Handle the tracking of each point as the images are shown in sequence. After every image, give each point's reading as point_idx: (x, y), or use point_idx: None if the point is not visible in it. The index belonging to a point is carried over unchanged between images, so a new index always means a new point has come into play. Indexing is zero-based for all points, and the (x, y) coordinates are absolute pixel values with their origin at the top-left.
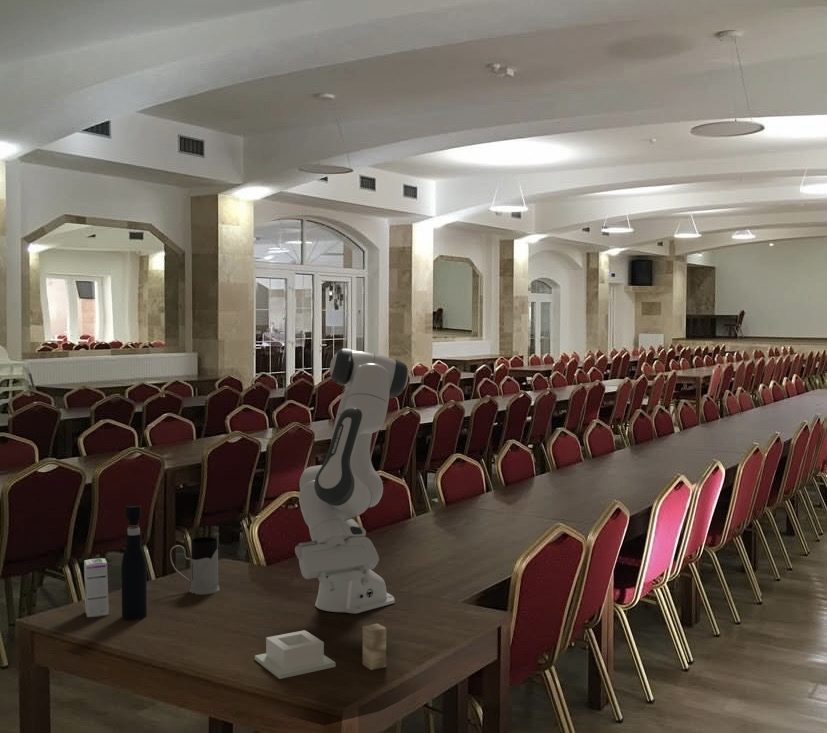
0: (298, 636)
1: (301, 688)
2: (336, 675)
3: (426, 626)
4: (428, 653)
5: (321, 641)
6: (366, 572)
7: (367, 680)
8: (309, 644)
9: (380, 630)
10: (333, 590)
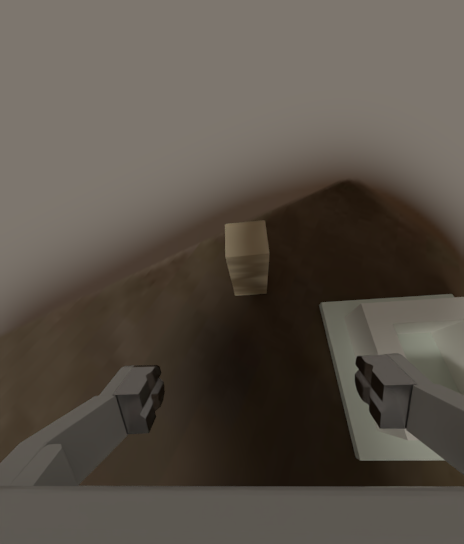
0: None
1: (400, 246)
2: (328, 270)
3: (12, 446)
4: (140, 289)
5: (366, 311)
6: (80, 415)
7: (285, 235)
8: (402, 305)
9: (240, 223)
10: (359, 375)
